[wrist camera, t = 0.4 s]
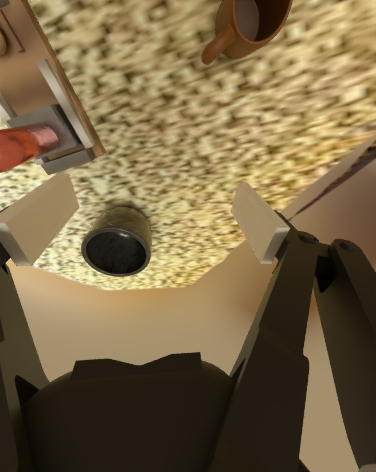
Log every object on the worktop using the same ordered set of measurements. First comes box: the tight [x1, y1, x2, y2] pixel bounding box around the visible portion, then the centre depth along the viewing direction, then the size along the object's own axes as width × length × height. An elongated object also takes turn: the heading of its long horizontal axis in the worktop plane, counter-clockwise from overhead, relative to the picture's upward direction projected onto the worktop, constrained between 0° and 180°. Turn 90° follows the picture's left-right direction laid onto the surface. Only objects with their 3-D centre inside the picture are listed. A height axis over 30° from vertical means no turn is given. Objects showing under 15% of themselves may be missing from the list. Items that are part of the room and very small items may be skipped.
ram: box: [0, 104, 82, 173], centre depth 26 cm, size 6×8×16 cm
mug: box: [201, 0, 293, 65], centre depth 25 cm, size 12×8×9 cm, turn 127°
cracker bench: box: [0, 0, 106, 175], centre depth 27 cm, size 24×12×9 cm, turn 16°
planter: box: [81, 207, 152, 277], centre depth 43 cm, size 14×14×13 cm
